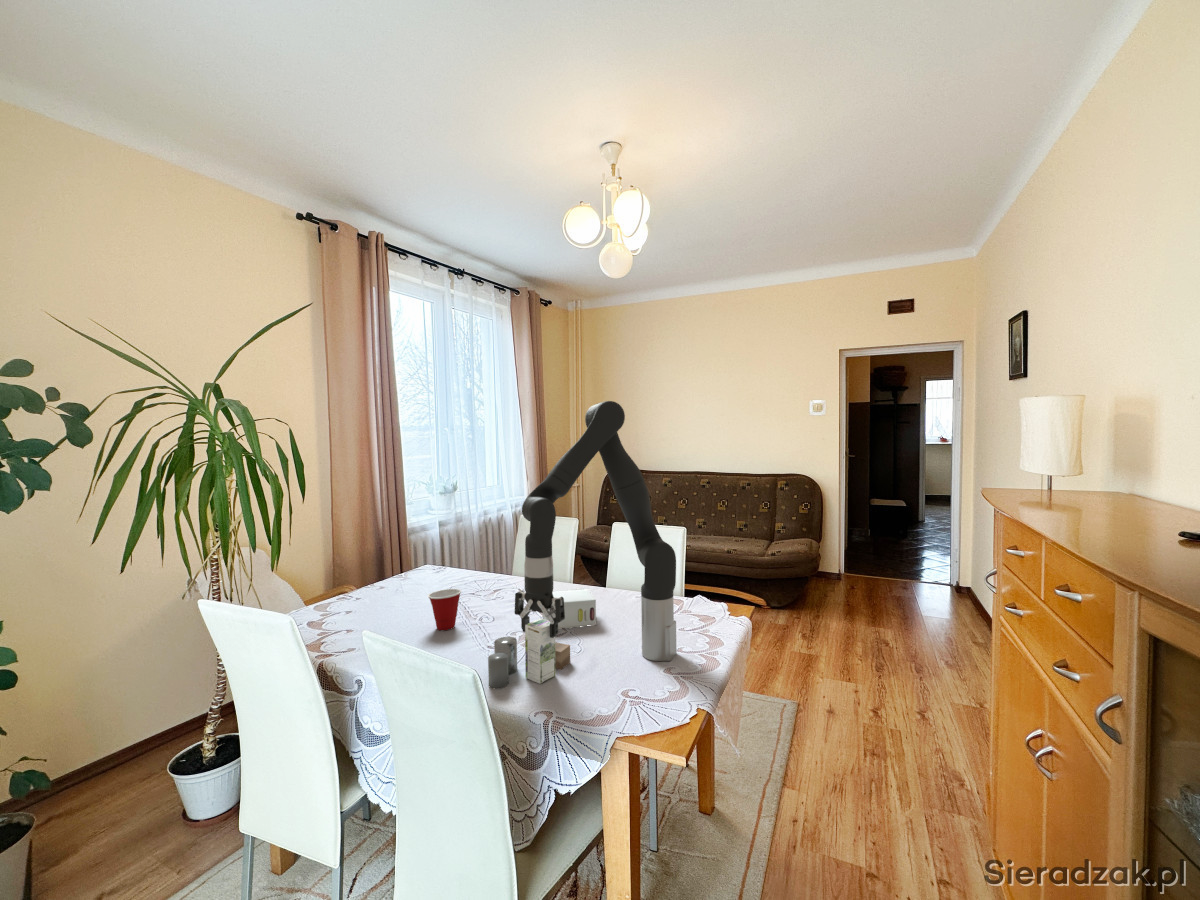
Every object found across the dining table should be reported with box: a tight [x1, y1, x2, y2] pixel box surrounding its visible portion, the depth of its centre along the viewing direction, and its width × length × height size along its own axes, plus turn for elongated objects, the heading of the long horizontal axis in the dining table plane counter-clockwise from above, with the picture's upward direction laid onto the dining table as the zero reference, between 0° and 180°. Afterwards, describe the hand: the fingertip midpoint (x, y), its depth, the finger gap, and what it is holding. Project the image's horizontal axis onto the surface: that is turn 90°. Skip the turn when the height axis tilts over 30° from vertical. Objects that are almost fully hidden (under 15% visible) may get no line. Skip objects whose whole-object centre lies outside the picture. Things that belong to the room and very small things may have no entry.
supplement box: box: [541, 588, 597, 630], centre depth 173 cm, size 17×13×9 cm
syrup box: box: [524, 618, 556, 685], centre depth 132 cm, size 6×6×14 cm
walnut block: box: [555, 641, 571, 671], centre depth 140 cm, size 5×5×5 cm
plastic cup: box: [427, 588, 462, 631], centre depth 169 cm, size 11×11×12 cm
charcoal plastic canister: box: [487, 653, 509, 690], centre depth 129 cm, size 5×5×7 cm
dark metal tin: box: [493, 636, 518, 676], centre depth 137 cm, size 6×6×8 cm
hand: (539, 634), depth 132 cm, fingers open, 8 cm apart
